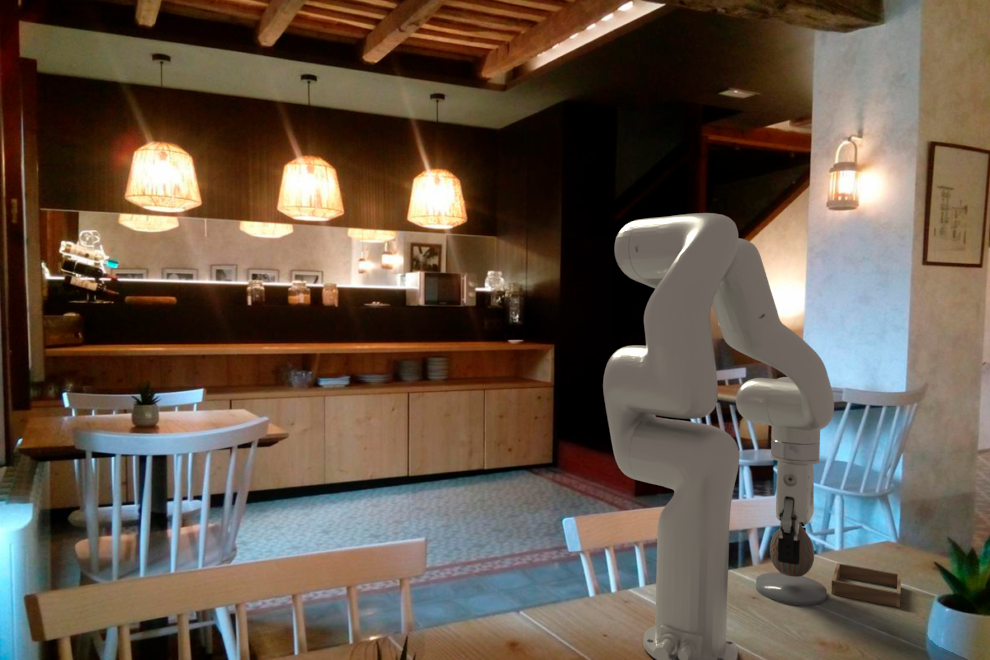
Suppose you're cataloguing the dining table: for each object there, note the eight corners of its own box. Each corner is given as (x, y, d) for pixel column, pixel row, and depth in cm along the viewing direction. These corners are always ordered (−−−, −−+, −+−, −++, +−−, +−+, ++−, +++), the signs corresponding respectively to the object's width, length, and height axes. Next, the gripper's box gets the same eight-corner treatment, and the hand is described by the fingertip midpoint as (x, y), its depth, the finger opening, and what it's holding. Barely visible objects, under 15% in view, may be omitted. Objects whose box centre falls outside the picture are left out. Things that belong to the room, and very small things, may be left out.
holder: (899, 607, 113) (900, 594, 113) (831, 593, 118) (831, 580, 118) (900, 586, 122) (900, 574, 122) (836, 574, 127) (837, 562, 127)
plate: (822, 611, 111) (823, 603, 111) (750, 595, 117) (750, 588, 117) (829, 588, 121) (829, 581, 121) (762, 574, 126) (762, 568, 126)
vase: (818, 582, 115) (820, 529, 114) (773, 578, 116) (775, 525, 116) (808, 566, 121) (809, 516, 121) (766, 563, 123) (767, 513, 122)
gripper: (813, 463, 109) (809, 577, 109) (824, 445, 124) (821, 545, 124) (762, 457, 112) (758, 567, 113) (779, 440, 127) (776, 537, 128)
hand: (791, 554), depth 119 cm, fingers closed on vase, 6 cm apart
